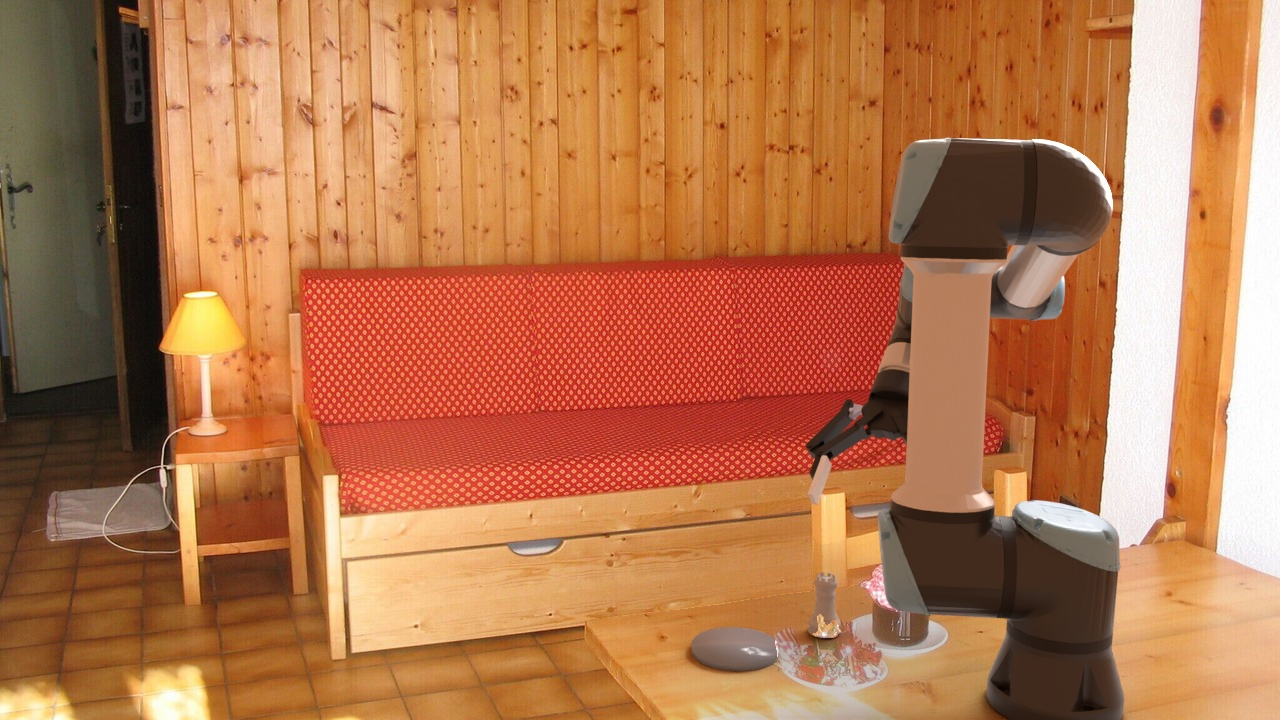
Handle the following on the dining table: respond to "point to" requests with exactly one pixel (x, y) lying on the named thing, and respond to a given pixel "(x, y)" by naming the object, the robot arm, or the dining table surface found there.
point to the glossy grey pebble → (734, 649)
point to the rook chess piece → (824, 601)
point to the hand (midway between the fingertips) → (858, 507)
